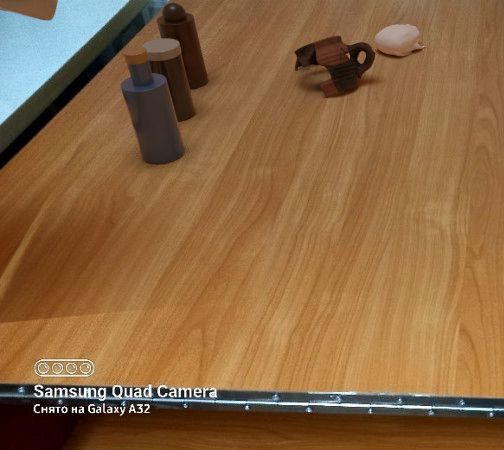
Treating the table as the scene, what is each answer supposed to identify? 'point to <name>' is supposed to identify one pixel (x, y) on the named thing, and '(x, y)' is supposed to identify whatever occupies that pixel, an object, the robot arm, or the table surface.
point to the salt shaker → (172, 74)
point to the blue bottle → (151, 110)
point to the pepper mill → (184, 41)
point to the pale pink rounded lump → (398, 40)
